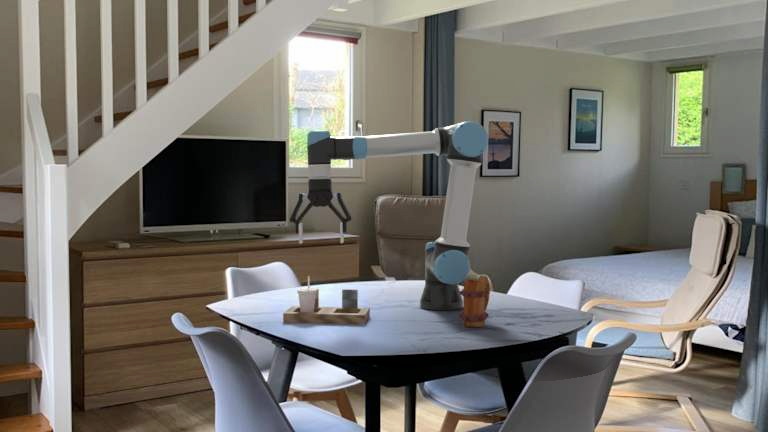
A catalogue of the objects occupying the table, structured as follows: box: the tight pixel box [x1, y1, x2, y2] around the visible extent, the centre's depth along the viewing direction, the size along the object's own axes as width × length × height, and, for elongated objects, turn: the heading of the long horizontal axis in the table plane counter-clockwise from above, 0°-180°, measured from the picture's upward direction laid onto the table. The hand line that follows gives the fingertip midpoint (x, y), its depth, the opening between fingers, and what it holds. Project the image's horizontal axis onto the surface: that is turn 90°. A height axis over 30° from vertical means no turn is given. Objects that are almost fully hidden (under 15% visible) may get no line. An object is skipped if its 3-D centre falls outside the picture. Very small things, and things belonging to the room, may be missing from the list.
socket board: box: [282, 288, 371, 325], centre depth 256 cm, size 26×13×9 cm, turn 84°
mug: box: [458, 275, 491, 328], centre depth 249 cm, size 15×8×15 cm, turn 148°
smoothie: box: [296, 275, 318, 312], centre depth 257 cm, size 6×6×14 cm
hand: (321, 243), depth 261 cm, fingers open, 13 cm apart
